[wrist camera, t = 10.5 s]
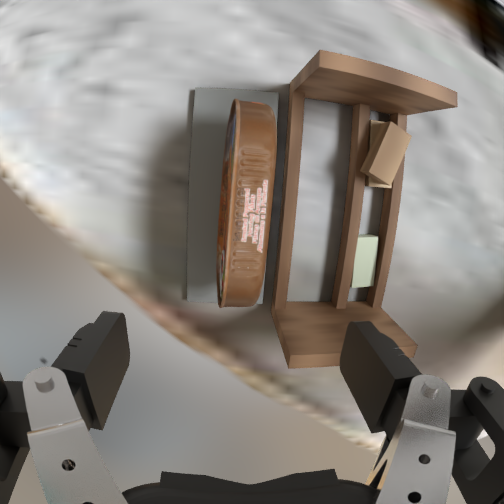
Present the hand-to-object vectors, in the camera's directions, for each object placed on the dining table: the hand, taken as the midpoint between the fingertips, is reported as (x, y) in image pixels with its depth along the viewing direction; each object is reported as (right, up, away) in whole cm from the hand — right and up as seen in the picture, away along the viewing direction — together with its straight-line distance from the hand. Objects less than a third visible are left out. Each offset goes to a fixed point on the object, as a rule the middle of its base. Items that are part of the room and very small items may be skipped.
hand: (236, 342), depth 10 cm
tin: (-1, +8, +16) cm, 17 cm away
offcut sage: (+11, +3, +19) cm, 22 cm away
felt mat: (-1, +8, +16) cm, 18 cm away
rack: (+9, +7, +17) cm, 20 cm away
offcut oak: (+12, +12, +14) cm, 22 cm away
